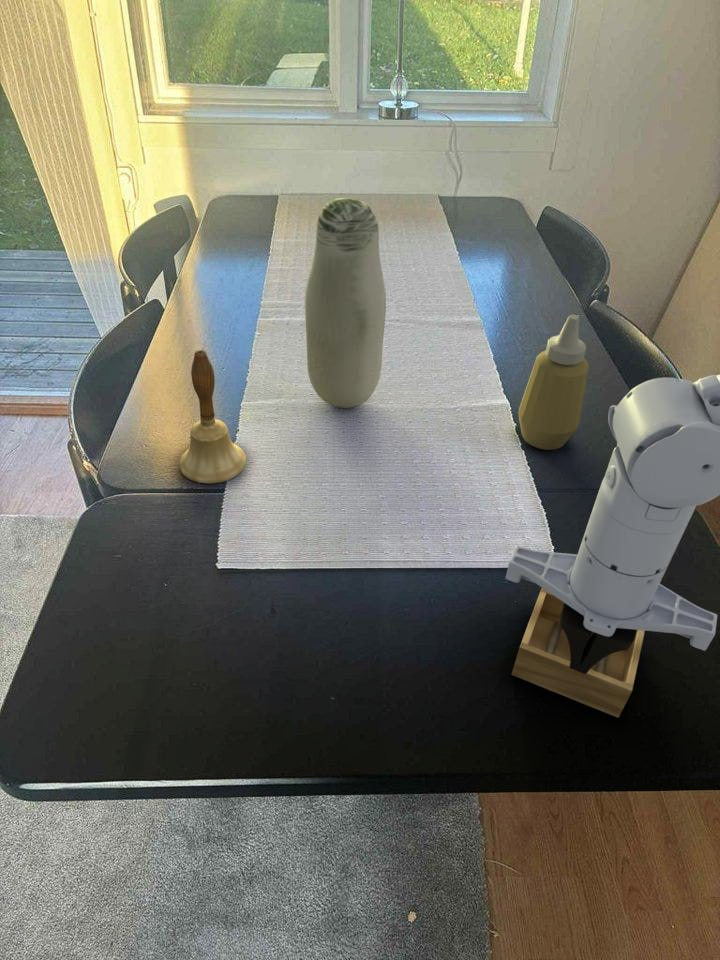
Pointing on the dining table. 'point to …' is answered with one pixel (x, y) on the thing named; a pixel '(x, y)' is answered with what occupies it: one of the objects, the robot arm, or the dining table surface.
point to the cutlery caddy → (550, 660)
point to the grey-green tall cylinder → (345, 304)
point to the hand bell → (209, 434)
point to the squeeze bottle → (555, 390)
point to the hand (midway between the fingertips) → (580, 661)
